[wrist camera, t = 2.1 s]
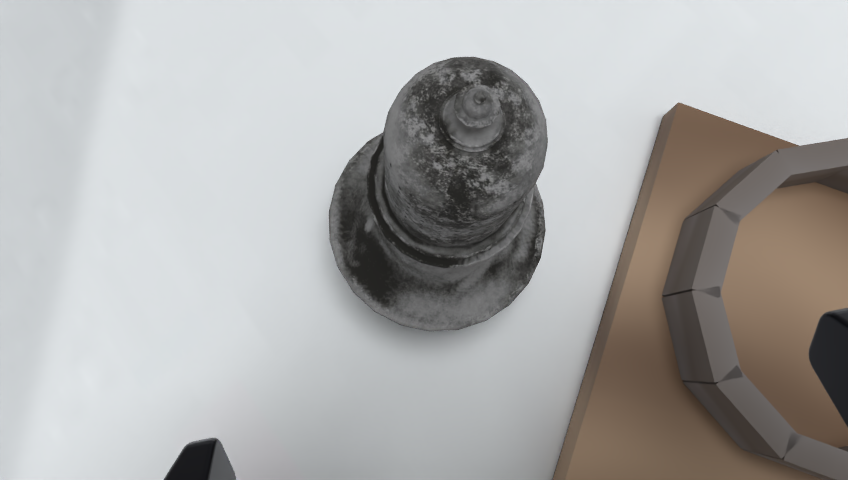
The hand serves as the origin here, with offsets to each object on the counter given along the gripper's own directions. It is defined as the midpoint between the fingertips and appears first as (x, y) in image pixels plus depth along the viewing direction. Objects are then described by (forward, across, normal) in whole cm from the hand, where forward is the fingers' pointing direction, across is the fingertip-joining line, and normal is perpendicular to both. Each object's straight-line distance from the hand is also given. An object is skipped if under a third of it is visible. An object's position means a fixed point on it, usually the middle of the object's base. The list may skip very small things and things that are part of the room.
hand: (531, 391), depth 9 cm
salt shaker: (+11, 0, +5) cm, 12 cm away
